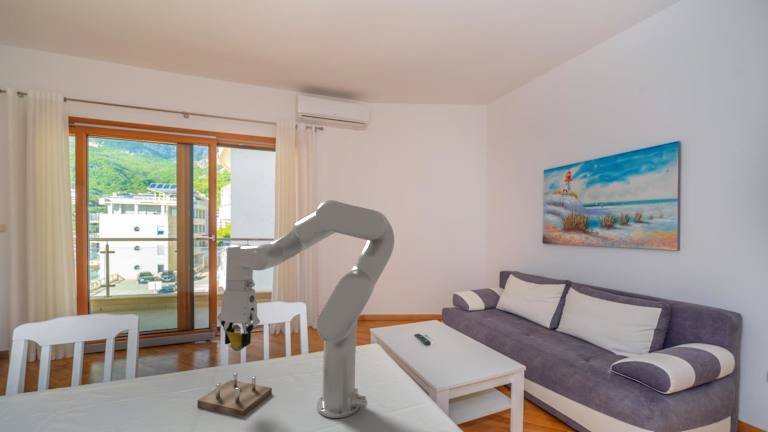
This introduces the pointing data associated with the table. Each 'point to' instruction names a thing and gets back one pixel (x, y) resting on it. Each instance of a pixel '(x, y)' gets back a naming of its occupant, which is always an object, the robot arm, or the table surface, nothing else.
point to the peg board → (235, 397)
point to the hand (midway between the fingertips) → (237, 343)
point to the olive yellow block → (235, 340)
